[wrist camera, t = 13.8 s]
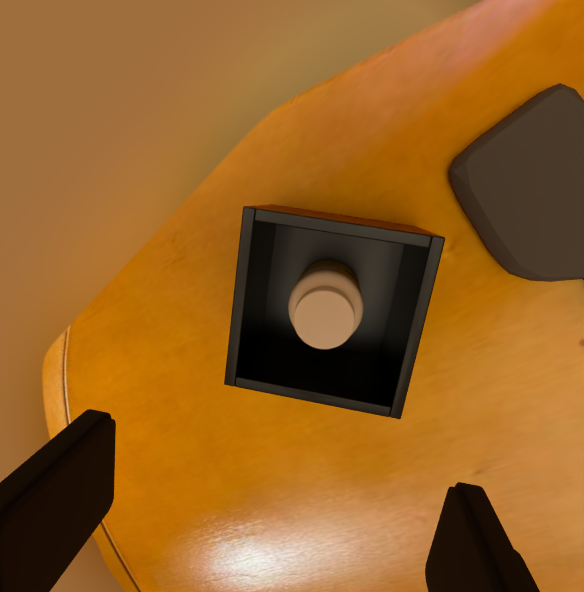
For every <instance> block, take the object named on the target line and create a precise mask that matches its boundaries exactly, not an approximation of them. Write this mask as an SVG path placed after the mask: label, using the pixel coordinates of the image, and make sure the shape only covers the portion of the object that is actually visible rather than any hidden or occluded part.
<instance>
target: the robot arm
mask: <svg viewBox="0 0 584 592" xmlns="http://www.w3.org/2000/svg"><path fill="white" fill-rule="evenodd" d="M115 430H116V423H115V420H114V419H111V415H110V414H109V413H107V412H102V411H97V410H91V409H89V410H86V411H85V412H84V413H82V414H81V415H80V416H79V417H78V418H77V419H75V420H74V421H73V422H72V423H71V424H69V425H68V426H67V427H66V428H65V429H63V430H62V431H61V432H60V433H59V434H58V435H56V436H55V437H54V438H53V439H52V440H50V441H49V442H48V443H47V444H46V445H44V446H43V447H42V448H41V449H40V450H38V451H37V452H36V453H35V454H34V455H33V456H31V457H30V458H29V459H28V460H27V461H25V462H24V463H23V464H22V465H21V466H19V467H18V468H17V469H16V470H15V471H13V472H12V473H11V474H10V475H9V476H8V477H6V478H5V479H4V480H3V481H2V482H1V483H0V592H50V590H51V589H52V588H53V586H54V585H55V584H56V582H57V581H58V579H59V578H60V577H61V575H62V574H63V573H64V571H65V570H66V569H67V567H68V566H69V564H70V563H71V562H72V560H73V559H74V558H75V556H76V555H77V553H78V552H79V551H80V549H81V548H82V547H83V545H84V544H85V543H86V541H87V540H88V538H89V537H90V536H91V534H92V533H93V532H94V530H95V529H96V528H97V526H98V525H99V524H100V522H101V521H102V519H103V518H104V517H105V515H106V514H107V513H108V511H109V510H110V507H111V505H112V503H113V499H114V469H115ZM425 576H426V583H427V587H428V591H429V592H540V591H539V589H538V587H537V585H536V583H535V581H534V579H533V577H532V575H531V574H530V572H529V570H528V568H527V566H526V564H525V562H524V560H523V558H522V557H521V555H520V554H519V553H518V552H517V551H516V550H514V549H513V547H512V545H511V543H510V541H509V539H508V537H507V535H506V533H505V531H504V529H503V527H502V525H501V523H500V521H499V519H498V517H497V515H496V513H495V511H494V509H493V507H492V505H491V503H490V501H489V499H488V497H487V495H486V493H485V491H484V490H483V488H482V487H480V486H476V485H471V484H466V483H461V482H458V483H457V484H456V486H455V487H449V489H448V491H447V495H446V498H445V502H444V505H443V508H442V512H441V515H440V519H439V522H438V525H437V529H436V532H435V535H434V539H433V542H432V546H431V549H430V552H429V556H428V559H427V562H426V568H425Z"/></svg>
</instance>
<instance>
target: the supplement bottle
mask: <svg viewBox="0 0 584 592" xmlns="http://www.w3.org/2000/svg"><path fill="white" fill-rule="evenodd" d="M288 311H289V317H290V320H291V322H292V324H293V326H294V328H295V330H296V332H297V334H298V336H299V337H300V338H301V339H302V340H303V341H304V342H305V343H306V344H308V345H310V346H312V347H314V348H318V349H331V348H335V347H337V346H339V345H341V344H343V343H344V342H345V341H346V340H347V339H348V338H349V337H350V335H352V334H353V333H354V331H355V330H356V329H357V328H358V326H359V324H360V322H361V319H362V315H363V299H362V294H361V290H360V286H359V282H358V279H357V277H356V275H355V273H354V272H353V270H352V269H351V268H350V267H349V266H348V265H346V264H345V263H343V262H341V261H338V260H333V259H323V260H319V261H316V262H314V263H312V264H311V265H309V266H308V267H307V268H306V269H305V270H304V271H303V273H302V274H301V276H300V278H299V280H298V281H297V283H296V285H295V287H294V288H293V290H292V292H291V295H290V298H289V304H288Z"/></svg>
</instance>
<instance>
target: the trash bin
mask: <svg viewBox="0 0 584 592" xmlns="http://www.w3.org/2000/svg"><path fill="white" fill-rule="evenodd" d="M444 242H445V238H444V237H442V236H439V235H437V234H434V233H431V232H429V231H426V230H423V229H421V228H418V227H415V226H409V225H402V224H396V223H389V222H383V221H376V220H370V219H363V218H357V217H350V216H344V215H337V214H330V213H324V212H317V211H311V210H304V209H298V208H291V207H285V206H278V205H259V206H244V207H243V215H242V224H241V233H240V243H239V252H238V261H237V270H236V280H235V289H234V298H233V307H232V317H231V326H230V335H229V344H228V354H227V363H226V372H225V381H224V384H225V385H230V386H235V387H240V388H245V389H250V390H255V391H260V392H265V393H270V394H275V395H280V396H285V397H290V398H295V399H300V400H305V401H310V402H315V403H320V404H325V405H330V406H335V407H340V408H345V409H350V410H355V411H361V412H366V413H371V414H376V415H381V416H386V417H391V418H396V419H401V416H402V412H403V407H404V403H405V399H406V395H407V391H408V387H409V383H410V379H411V375H412V371H413V367H414V363H415V359H416V355H417V351H418V347H419V343H420V339H421V335H422V331H423V327H424V323H425V318H426V314H427V310H428V306H429V302H430V298H431V294H432V290H433V286H434V282H435V278H436V274H437V270H438V266H439V262H440V258H441V254H442V250H443V246H444ZM323 259H333V260H338V261H341V262H343V263H345V264H346V265H348V266H349V267H350V268H351V269H352V270H353V272H354V273H355V275H356V277H357V279H358V282H359V286H360V290H361V294H362V299H363V315H362V319H361V322H360V324H359V326H358V328H357V329H356V330H355V331H354V333H353V334H352V335H350V337H349V338H348V339H347V340H346V341H345V342H344V343H343V344H341V345H339V346H337V347H335V348H331V349H318V348H314V347H312V346H310V345H308V344H306V343H305V342H304V341H303V340H302V339H301V338H300V337H299V336H298V334H297V332H296V330H295V328H294V326H293V324H292V322H291V320H290V317H289V311H288V304H289V298H290V295H291V292H292V290H293V288H294V287H295V285H296V283H297V281H298V280H299V278H300V276H301V274H302V273H303V271H304V270H305V269H306V268H307V267H308V266H309V265H311V264H312V263H314V262H316V261H319V260H323Z"/></svg>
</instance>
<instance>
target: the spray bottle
mask: <svg viewBox="0 0 584 592" xmlns="http://www.w3.org/2000/svg"><path fill="white" fill-rule="evenodd" d="M449 177H450V183H451V185H452V187H453V189H454V191H455V193H456V195H457V198H458V200H459V202H460V204H461V206H462V208H463V210H464V212H465V213H466V215H467V217H468V218H469V220H470V221H471V223H472V225H473V226H474V228H475V229H476V231H477V233H478V234H479V236H480V237H481V239H482V241H483V242H484V244H485V245H486V247H487V249H488V250H489V252H490V253H491V255H492V256H493V257H494V258H495V259H496V260H497V261H498V263H499V264H500V265H501V266H502V267H503V268H504V269H505V270H506V271H507V272H508V273H509V274H512V275H515V276H518V277H521V278H524V279H527V280H534V281H548V282H552V281H563V280H574V279H583V280H584V100H583V99H582V97H581V96H580V95H579V94H578V92H577V91H576V90H575V89H573V88H571V87H568V86H566V85H563V84H561V83H559V84H557V85H554V86H552V87H550V88H548V89H546V90H544V91H542V92H540V93H538V94H537V95H536V96H534V97H533V98H532V99H530V100H529V101H527V102H526V103H525V104H523V105H522V106H521V107H519V108H518V109H517V110H515V111H514V112H513V113H511V114H510V115H509V116H507V117H506V118H504V119H503V120H502V121H500V122H499V123H498V124H496V125H495V126H494V127H492V128H491V129H490V130H488V131H487V132H486V133H484V134H483V135H481V136H480V137H479V138H478V139H476V140H475V141H474V142H473V143H472V144H471V145H469V146H468V147H467V148H466V149H465V150H464V151H463V152H461V153H460V154H459V155H458V156H457V157H456V158H455V159H454V160H453V162H452V164H451V166H450V168H449Z"/></svg>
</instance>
